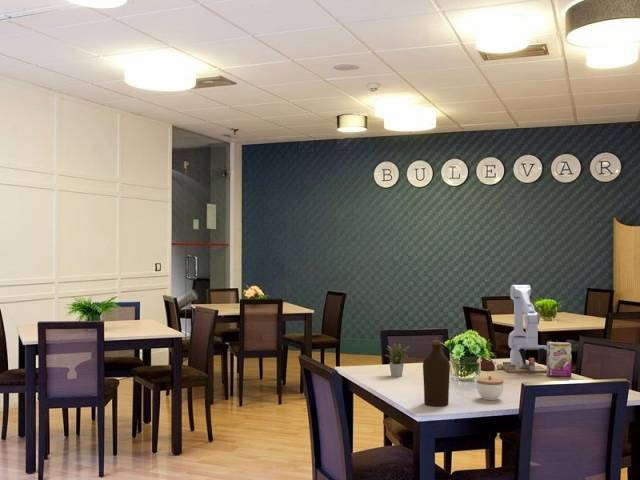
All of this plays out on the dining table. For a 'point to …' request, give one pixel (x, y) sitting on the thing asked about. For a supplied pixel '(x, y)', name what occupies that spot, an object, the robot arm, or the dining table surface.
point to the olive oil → (436, 377)
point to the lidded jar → (489, 388)
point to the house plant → (396, 361)
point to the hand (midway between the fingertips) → (531, 363)
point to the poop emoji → (488, 365)
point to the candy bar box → (559, 359)
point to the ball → (499, 366)
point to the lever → (528, 364)
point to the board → (516, 369)
